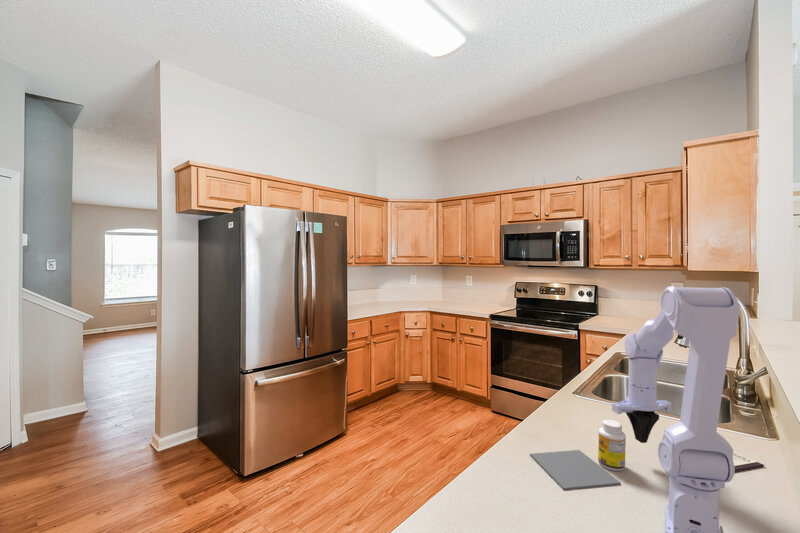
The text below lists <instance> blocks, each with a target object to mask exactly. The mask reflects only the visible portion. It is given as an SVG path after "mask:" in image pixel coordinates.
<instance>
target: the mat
mask: <svg viewBox="0 0 800 533" xmlns="http://www.w3.org/2000/svg"><path fill="white" fill-rule="evenodd" d="M529 456H530V457H531V458H532V459H533V461H534V462H536V463H537V464H538V465H539V466H540V467H541V469H543V470H544V471H545V473H547V475H549V477H550V478H551V479H552V480H553V481H554V482H555V483H556V484H557V485H558V486H559V487H560V488H561V490H563V491H568V490H577V489H586V488H588V489H589V488H597V487H599V488H600V487H608V486H617V485H621V482H620V480H618V479H616V478H615V476H613V475H612V474H610V473H609V472H608V471H606V470H605V468H604V467H603V466H602V467H601V466H600V464H598V463H597V462H595V461H594V460H593V459H592V458H590V457H589V456H588V455H587V454H585V453H584V452H583V451H581V450H580V449H575V450H561V451H549V452H538V453H537V452H535V453H530V454H529Z"/></svg>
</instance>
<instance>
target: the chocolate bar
mask: <svg viewBox="0 0 800 533" xmlns="http://www.w3.org/2000/svg"><path fill="white" fill-rule="evenodd" d="M733 462H734V468H735V472H734V473H737V472H744V471H749V470H755V469H761V468H765V464H763V463H760V462H759V461H756V460H755V459H751V458H749V457H747V456H745V455H743V454H741V453H739V452H736V451H734V450H733Z"/></svg>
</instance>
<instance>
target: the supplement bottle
mask: <svg viewBox="0 0 800 533" xmlns="http://www.w3.org/2000/svg"><path fill="white" fill-rule="evenodd" d="M622 428H623V425H622V423H621V422H618V421H616V420H613V419H604V420H602V427H600V428H599V430H598V456H597V457H598V458H597V459H598V460H597V461H598V463H599V465H601V466H602V468H604V469H605V468H606V469H607V470H610V471H614V472H621V471H623V470H625V468H626V448H627V447H626V439H627V437H626V434H625V433H624V432H623V429H622Z"/></svg>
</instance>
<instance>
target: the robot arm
mask: <svg viewBox="0 0 800 533" xmlns="http://www.w3.org/2000/svg"><path fill="white" fill-rule="evenodd" d="M660 296H661V297H660V308H661V310H660V312H659V313H658V314H657V316H656V317H655V318H649V319H648V320H647V321H646V322H645V323H644V324H643V325H642V326H641V327H640V329H639V330H638V332H636V334H635V333H628V334H627V335H626V336H625V339H624V351H625V354H626V357H628V382H627V383H628V384H627V385H628V387H627V391H628V392H627V396H626V399H625V400H621V401H618V402H612V403H611V411H612V412H613V413H615V414H617V415H621V414H622V413H625V414H626V416H627V418H628V419H629V421H630V424H631V427H632V430H633V433H634V438H635V440H636V441H638V442H639V443H641V444H647V442H648V440H649V437H650V434H651V432H652V429H653V427H655V424H656V423H657V422H658V421H659V420H660V414H658V413H657V412H655V411H667V412H672V403H671V401H667V400H666V399H662V400H661V399H660V400H659V399H657V393H658V392H657V390H658V384H657V383H658V369H659V368H660V367H661V359H662V358H663V355H664V348H665V347H666V346H667V345H668V344H669V343H670V342H671V341H672V340H673V338H674V337H675V333H676V335H679V336H681V337H683V338H686V339H687V340H688V341H689V349H688V358H687V365H686V371H685V378H684V380H685V381H684V386H683V395H682V402H681V411H680V417H679V418H680V419H679V421H678V422H676V423H674V424H672V425H670V426H668V427H667V428H665V429H664V430H663V434H662V438H661V440H660V441H659V443H658V447H657V454H658V455H657V456H658V461H659V463H660V465H661V468H662V469H663V470H664V471H665V473H666V474H667V476H668V477H669V478H668V479H669V480H668V481H669V484H668V504H665V533H722V530H721V525H720V494H721V493H720V492H721V489H726V488H725V486H726V483H730V482H731V481H732V480H733V478H734V475H735V473H736V472H735V468H734V462H733V451H734V449H733V447H732V445H731V444H730V443H729V441H728V440H727V439H726V438H725V437H724V436H723V435H721V434H720V433H719V432H717V429H718V423H719V418H720V410H721V405H722V404H721V403H722V400H723V399H722V397H723V392H724V391H723V390H724V386H725V385H724V384H725V378H726V372H727V367H728V366H727V365H728V360H729V359H728V358H729V354H730V346H731V345H730V344H731V339H733V338H735V337H736V336H737V330H738V326H739V325H738V324H739V318H740V310H741V304H740V302H739V300H738V298H737V297H736V295H735V294H734V293H733V291H732V290H731V289H730V288H728V287H724V286H723V287H693V286H692V287H689V286H688V287H687V286H685V287H683V286H673V285H669V286H667V287H665V289H664V290H663V291H662V293H661V295H660ZM674 331H675V332H674Z"/></svg>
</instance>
